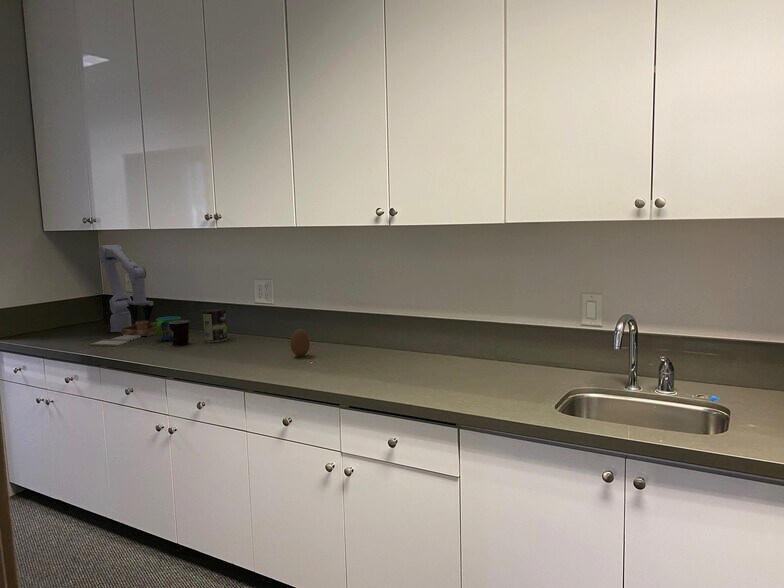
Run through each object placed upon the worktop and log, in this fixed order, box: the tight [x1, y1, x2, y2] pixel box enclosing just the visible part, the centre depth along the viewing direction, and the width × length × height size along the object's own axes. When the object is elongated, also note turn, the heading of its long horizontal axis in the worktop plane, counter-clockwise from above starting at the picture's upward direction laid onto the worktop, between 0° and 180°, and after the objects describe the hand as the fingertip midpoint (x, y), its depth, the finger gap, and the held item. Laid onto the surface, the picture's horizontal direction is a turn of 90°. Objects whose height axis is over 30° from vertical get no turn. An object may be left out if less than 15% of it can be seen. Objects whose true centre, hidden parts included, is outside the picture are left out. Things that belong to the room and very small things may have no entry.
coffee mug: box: [169, 319, 190, 346], centre depth 271 cm, size 12×9×10 cm
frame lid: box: [88, 339, 130, 347], centre depth 279 cm, size 14×9×1 cm, turn 75°
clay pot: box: [134, 320, 149, 330], centre depth 299 cm, size 6×6×6 cm
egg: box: [289, 328, 311, 357], centre depth 242 cm, size 8×8×11 cm
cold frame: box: [120, 320, 157, 338], centre depth 300 cm, size 16×11×5 cm
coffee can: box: [201, 307, 228, 343], centre depth 279 cm, size 10×10×14 cm
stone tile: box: [110, 335, 142, 342], centre depth 288 cm, size 9×9×1 cm
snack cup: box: [155, 315, 182, 342], centre depth 284 cm, size 16×10×10 cm
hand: (141, 319), depth 299 cm, fingers open, 7 cm apart
